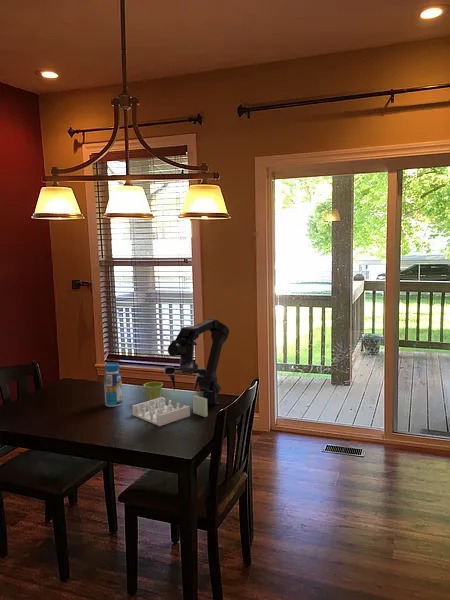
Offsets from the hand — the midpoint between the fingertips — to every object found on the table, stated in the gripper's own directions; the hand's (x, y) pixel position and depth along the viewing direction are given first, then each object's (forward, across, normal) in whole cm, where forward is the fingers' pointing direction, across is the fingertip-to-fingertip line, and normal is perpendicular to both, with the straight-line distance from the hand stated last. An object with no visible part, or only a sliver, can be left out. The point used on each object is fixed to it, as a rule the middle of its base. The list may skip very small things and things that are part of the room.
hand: (184, 390), depth 213 cm
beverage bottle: (+13, -31, +26) cm, 43 cm away
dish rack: (+13, -9, +5) cm, 16 cm away
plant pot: (+11, -12, +26) cm, 30 cm away
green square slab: (+11, +8, +2) cm, 14 cm away
